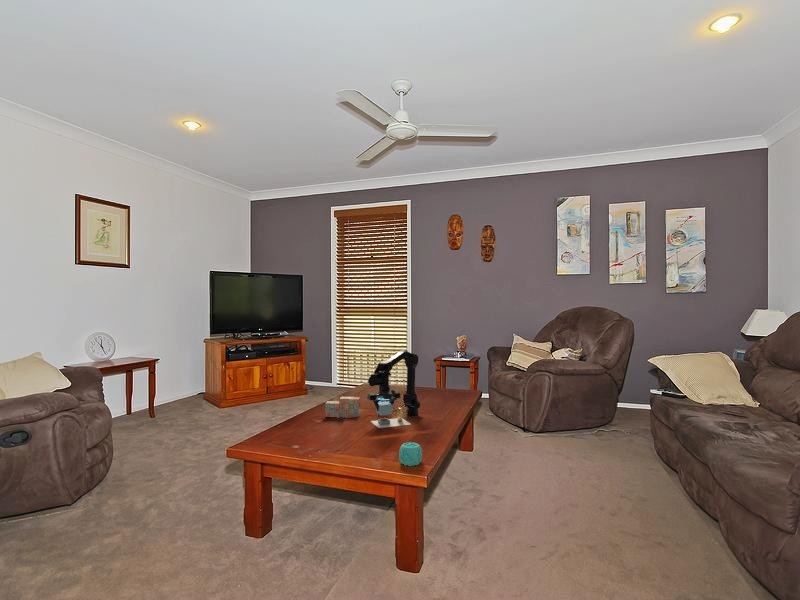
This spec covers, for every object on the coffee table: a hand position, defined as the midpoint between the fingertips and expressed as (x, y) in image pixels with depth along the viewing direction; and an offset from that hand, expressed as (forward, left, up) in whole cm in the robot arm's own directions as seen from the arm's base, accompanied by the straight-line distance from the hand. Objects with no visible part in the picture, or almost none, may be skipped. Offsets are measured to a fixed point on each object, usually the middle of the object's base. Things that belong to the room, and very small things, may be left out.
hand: (383, 410), depth 254 cm
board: (-4, 0, -9) cm, 10 cm away
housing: (0, 0, -1) cm, 1 cm away
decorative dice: (+8, +59, -9) cm, 60 cm away
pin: (-10, 0, -7) cm, 13 cm away
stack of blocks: (+17, -29, -9) cm, 35 cm away
